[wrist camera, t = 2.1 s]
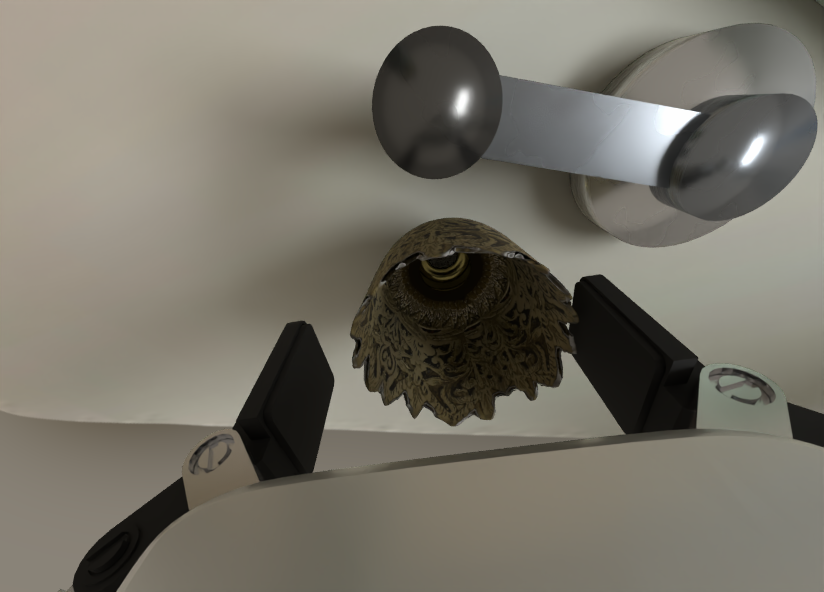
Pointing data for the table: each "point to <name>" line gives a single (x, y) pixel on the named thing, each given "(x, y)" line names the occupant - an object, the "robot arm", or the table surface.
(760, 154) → the crank
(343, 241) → the table surface
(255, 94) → the table surface
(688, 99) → the crank base
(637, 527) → the robot arm
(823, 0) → the tray
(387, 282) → the ornate brass lampshade
